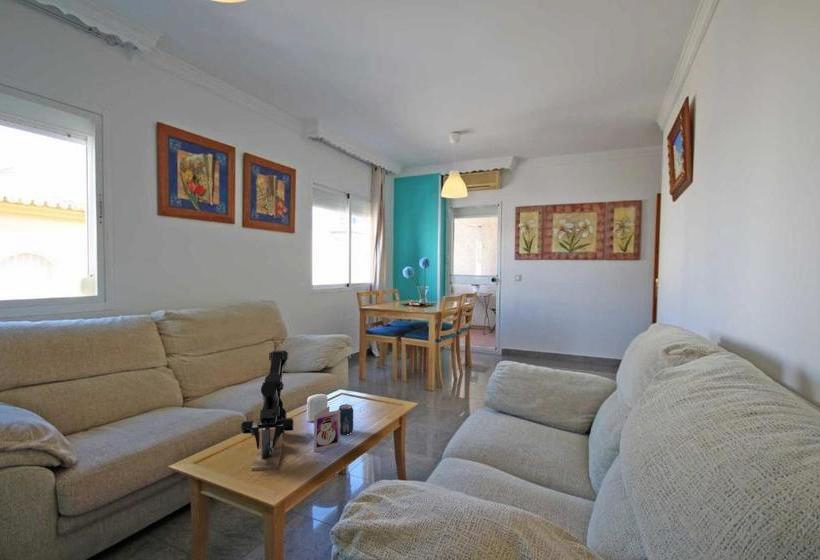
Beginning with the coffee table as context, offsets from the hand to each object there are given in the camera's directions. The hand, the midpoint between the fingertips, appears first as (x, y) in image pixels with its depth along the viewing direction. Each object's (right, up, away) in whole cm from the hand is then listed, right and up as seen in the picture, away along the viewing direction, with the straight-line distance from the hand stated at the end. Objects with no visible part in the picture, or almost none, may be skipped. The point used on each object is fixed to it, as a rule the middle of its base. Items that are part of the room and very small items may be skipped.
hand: (265, 448), depth 140 cm
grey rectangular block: (-2, -6, +8) cm, 10 cm away
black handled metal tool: (-2, -5, +8) cm, 10 cm away
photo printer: (+8, -7, +47) cm, 48 cm away
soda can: (+24, -7, +32) cm, 41 cm away
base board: (-2, -7, +8) cm, 11 cm away
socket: (-3, -6, +15) cm, 17 cm away
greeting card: (+18, -7, +18) cm, 27 cm away
